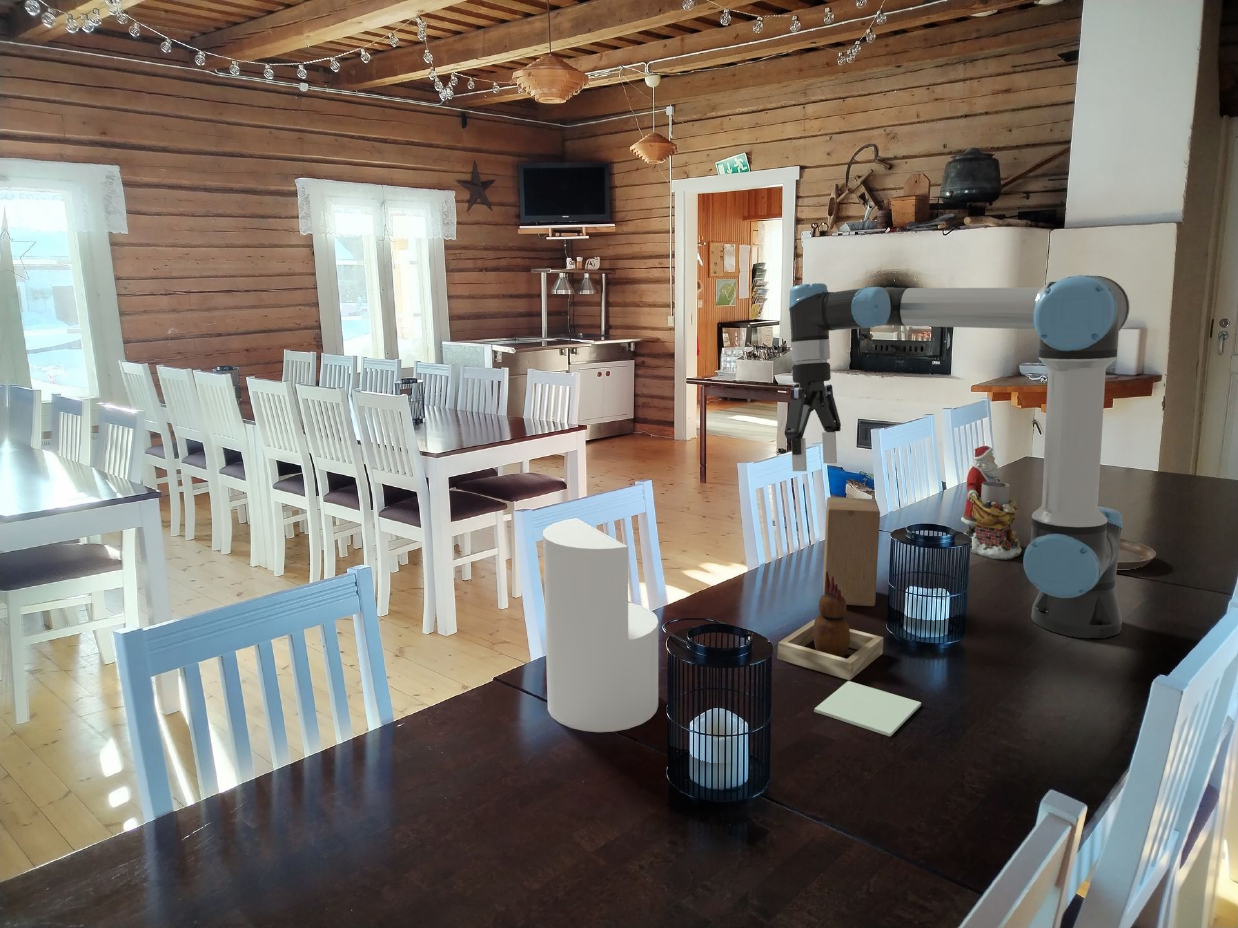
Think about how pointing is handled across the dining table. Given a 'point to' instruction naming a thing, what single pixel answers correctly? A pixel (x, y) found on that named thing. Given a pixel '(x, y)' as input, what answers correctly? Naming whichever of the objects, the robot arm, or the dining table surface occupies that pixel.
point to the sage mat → (868, 708)
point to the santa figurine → (989, 509)
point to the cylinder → (595, 633)
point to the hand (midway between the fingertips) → (815, 467)
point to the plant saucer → (1135, 549)
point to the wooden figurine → (831, 622)
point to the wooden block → (852, 548)
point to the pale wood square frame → (837, 666)
